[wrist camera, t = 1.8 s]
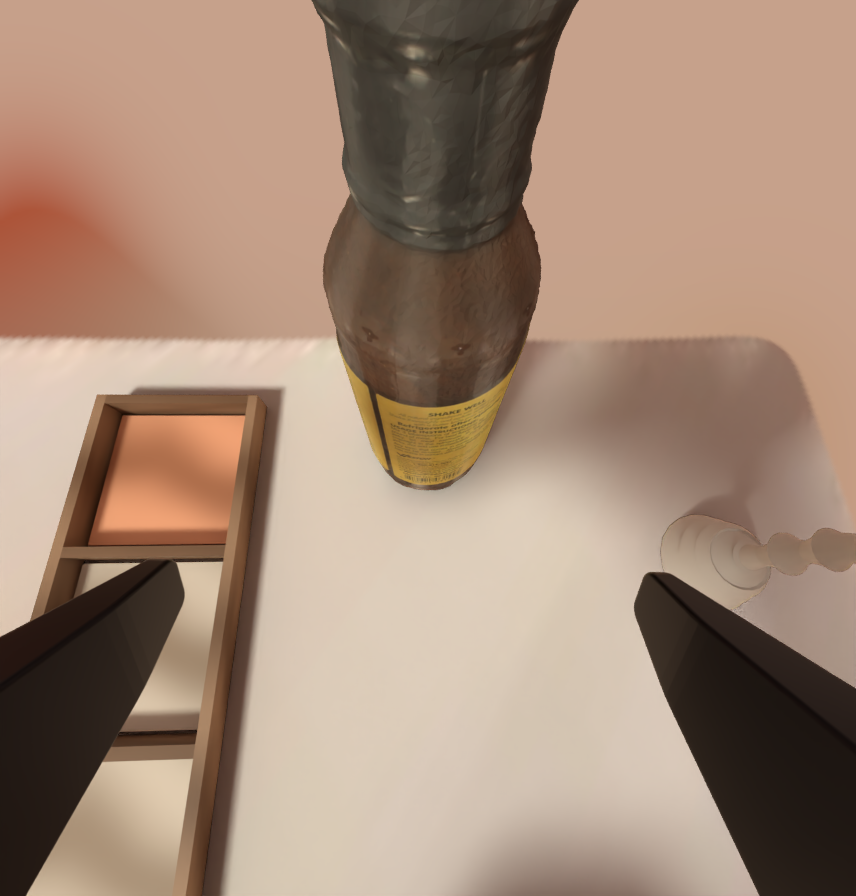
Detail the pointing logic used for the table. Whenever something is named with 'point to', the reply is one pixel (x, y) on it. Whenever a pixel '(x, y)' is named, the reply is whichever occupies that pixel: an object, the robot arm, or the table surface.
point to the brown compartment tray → (189, 643)
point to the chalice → (745, 556)
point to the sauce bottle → (435, 216)
